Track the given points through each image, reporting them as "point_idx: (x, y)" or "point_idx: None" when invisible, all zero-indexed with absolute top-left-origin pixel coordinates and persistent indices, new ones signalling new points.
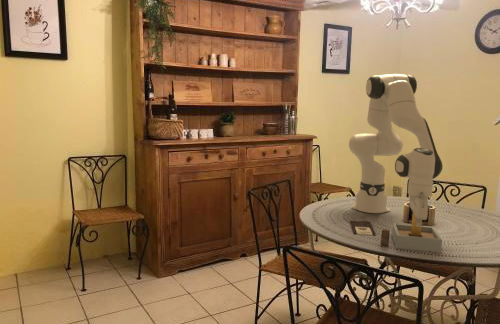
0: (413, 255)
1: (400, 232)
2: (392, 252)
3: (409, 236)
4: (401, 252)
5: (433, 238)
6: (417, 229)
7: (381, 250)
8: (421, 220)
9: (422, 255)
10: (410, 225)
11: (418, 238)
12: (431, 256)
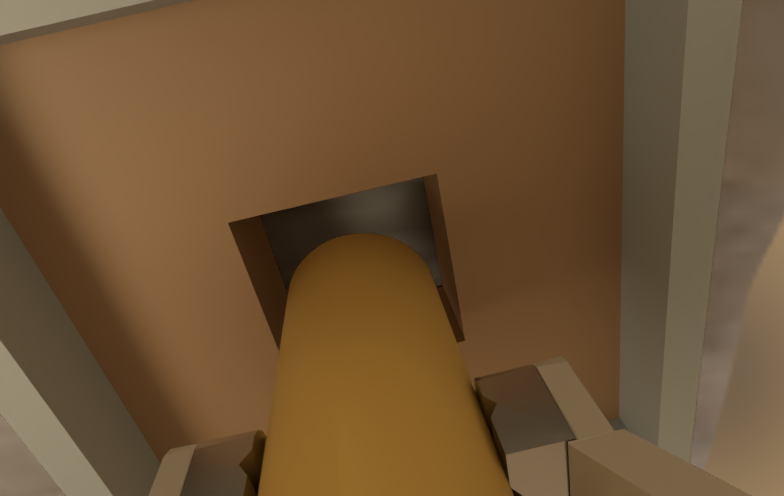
0: (772, 205)
1: None
2: (726, 372)
3: (688, 370)
4: (709, 313)
5: (700, 3)
6: (456, 345)
7: (697, 443)
8: (738, 494)
9: (756, 117)
10: (67, 446)
11: (704, 253)
12: (773, 7)
